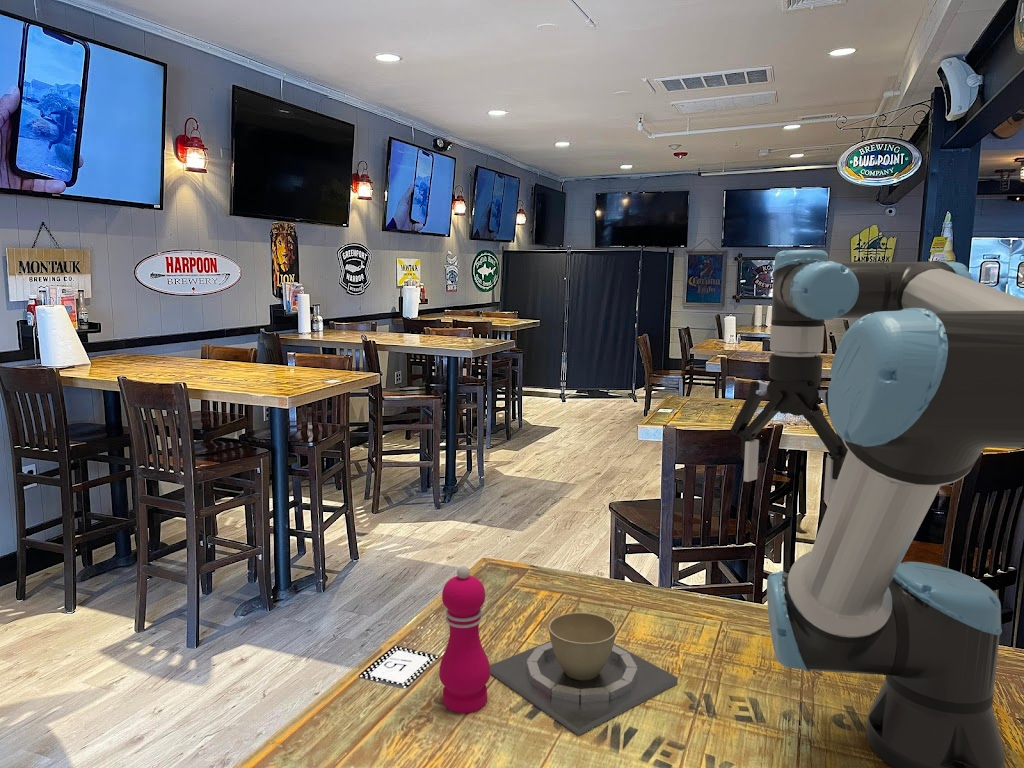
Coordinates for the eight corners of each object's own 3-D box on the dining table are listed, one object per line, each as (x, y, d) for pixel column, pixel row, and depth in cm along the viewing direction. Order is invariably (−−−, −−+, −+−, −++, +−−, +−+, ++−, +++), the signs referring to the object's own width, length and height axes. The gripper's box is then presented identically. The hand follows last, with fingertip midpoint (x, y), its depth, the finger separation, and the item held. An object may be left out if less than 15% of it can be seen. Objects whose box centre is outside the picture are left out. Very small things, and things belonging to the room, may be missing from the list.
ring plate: (677, 683, 108) (677, 669, 108) (578, 736, 96) (578, 720, 96) (583, 632, 124) (583, 620, 123) (488, 672, 111) (488, 658, 111)
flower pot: (613, 693, 104) (613, 646, 103) (543, 686, 106) (543, 639, 105) (617, 658, 113) (618, 614, 112) (553, 651, 116) (554, 608, 114)
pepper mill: (454, 721, 99) (452, 581, 96) (431, 696, 105) (428, 563, 102) (500, 705, 103) (499, 569, 100) (475, 681, 109) (473, 553, 106)
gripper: (891, 358, 104) (881, 503, 107) (739, 346, 123) (734, 469, 126) (866, 362, 99) (856, 514, 102) (711, 349, 118) (707, 476, 121)
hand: (788, 489), depth 114 cm, fingers open, 13 cm apart
